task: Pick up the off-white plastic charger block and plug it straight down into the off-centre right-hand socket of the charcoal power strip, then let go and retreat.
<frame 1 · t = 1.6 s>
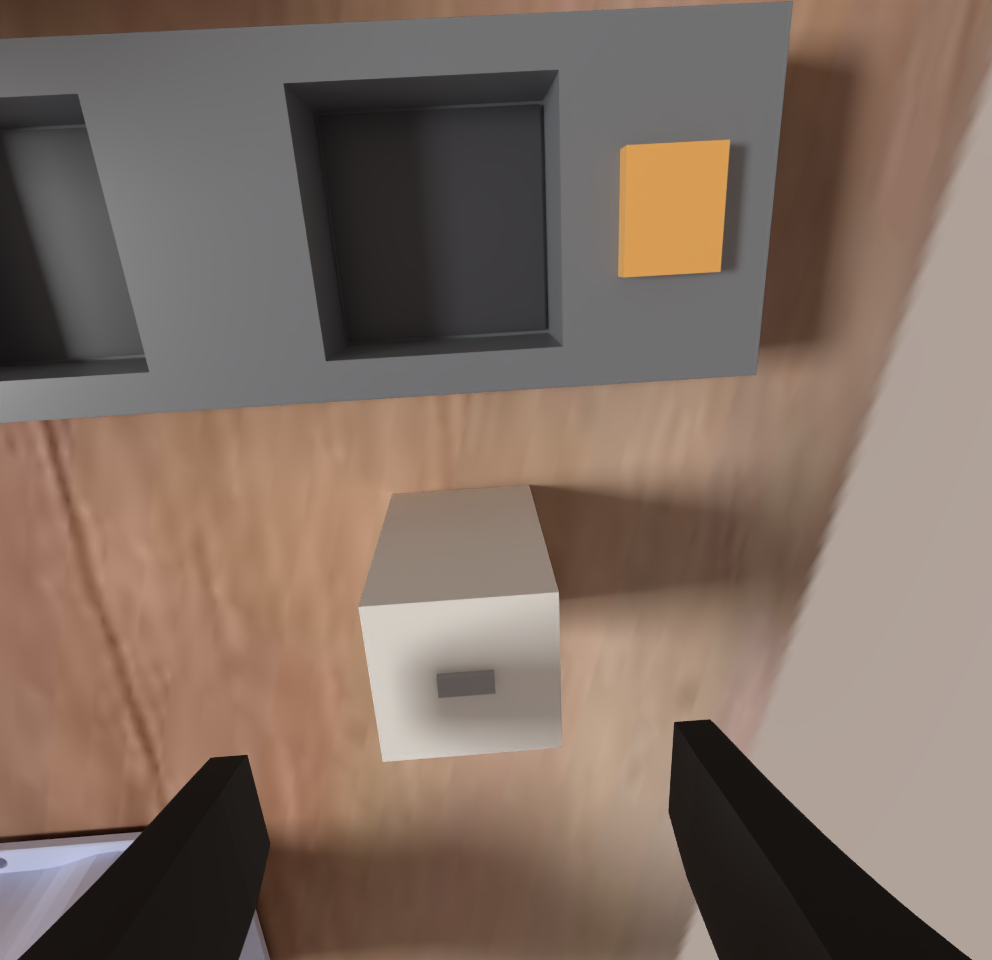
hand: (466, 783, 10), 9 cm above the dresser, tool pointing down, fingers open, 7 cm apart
charger: (465, 550, 18), on the dresser
power strip: (319, 237, 15), on the dresser
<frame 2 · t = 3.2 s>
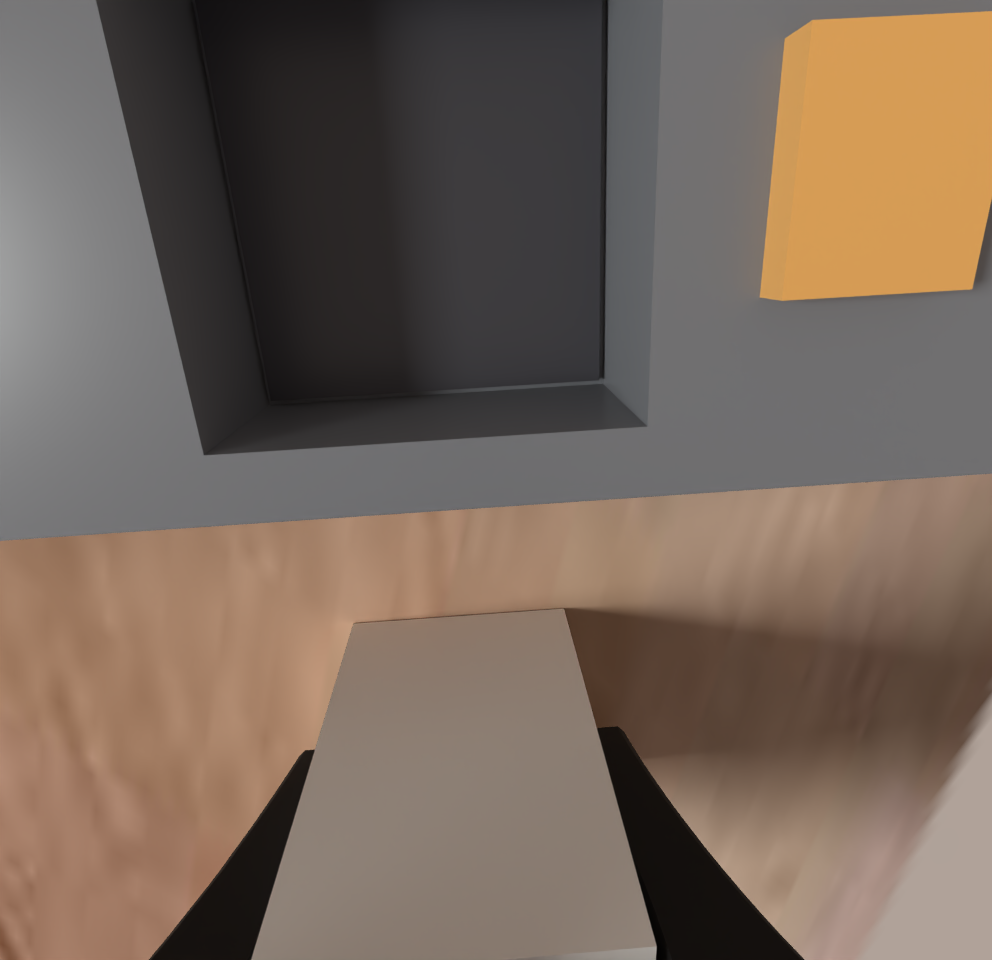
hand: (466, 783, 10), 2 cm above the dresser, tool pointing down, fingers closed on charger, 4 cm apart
charger: (466, 700, 12), on the dresser, touching gripper
power strip: (219, 225, 9), on the dresser
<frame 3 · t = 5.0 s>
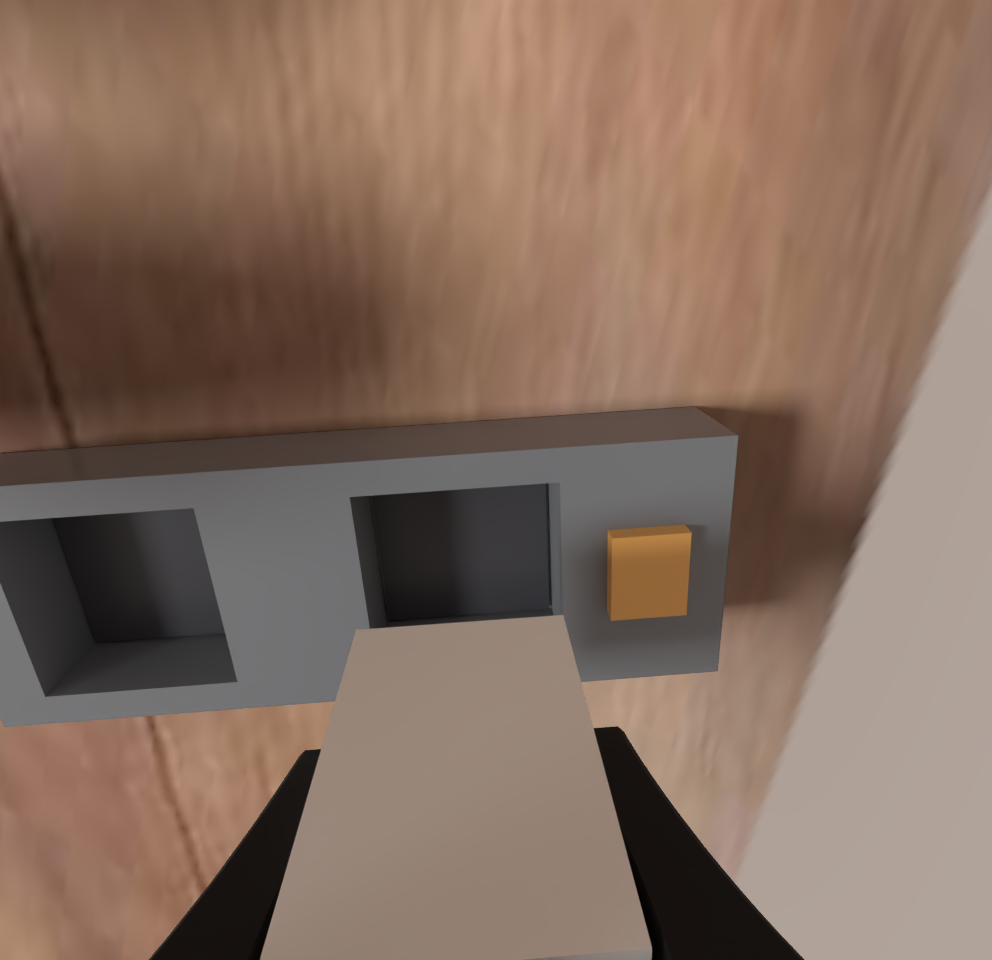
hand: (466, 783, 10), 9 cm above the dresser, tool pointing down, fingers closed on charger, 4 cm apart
charger: (467, 705, 12), point 7 cm above the dresser, touching gripper
power strip: (366, 539, 19), on the dresser
when the fingers open (4 cm above the dresser, at t = 7.2 s): charger stays where it is, resting on power strip.
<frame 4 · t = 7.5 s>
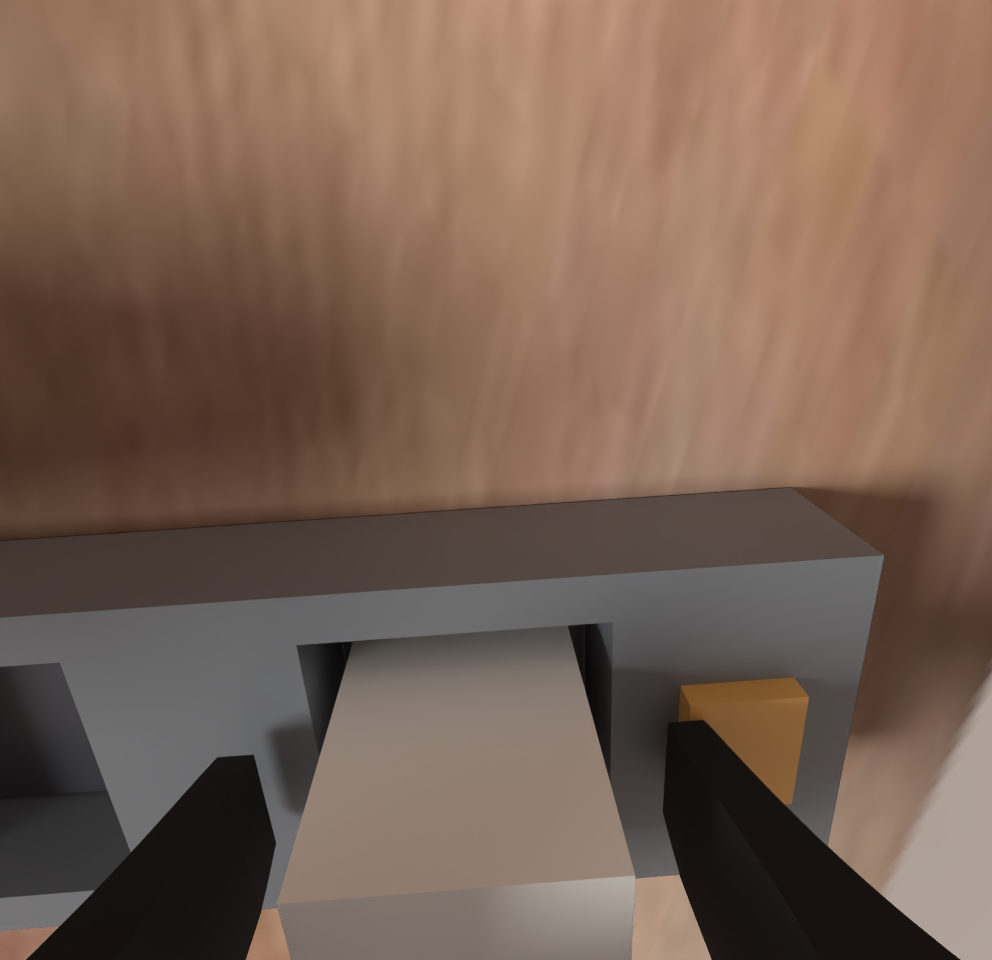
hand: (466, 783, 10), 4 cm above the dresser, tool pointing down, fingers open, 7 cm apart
charger: (467, 680, 13), point 1 cm above the dresser, touching power strip
power strip: (333, 662, 14), on the dresser
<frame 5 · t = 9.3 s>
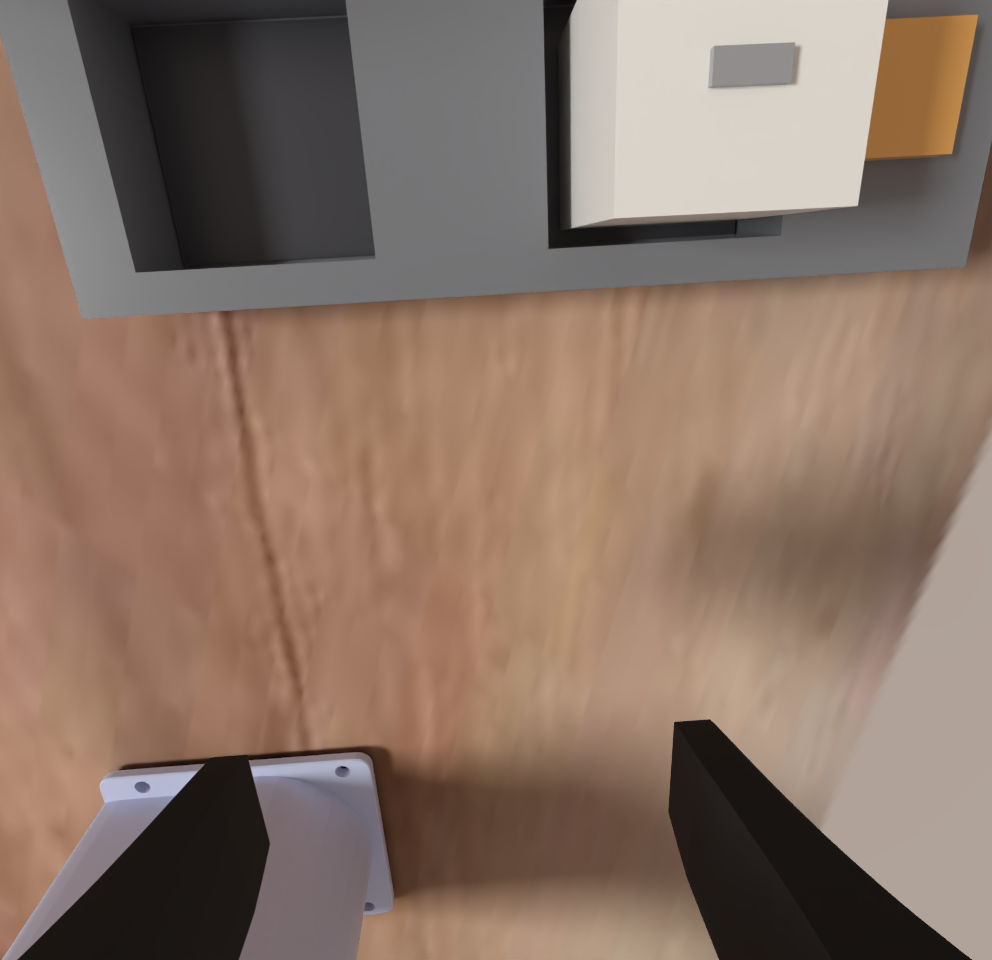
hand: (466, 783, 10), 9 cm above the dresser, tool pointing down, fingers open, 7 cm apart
charger: (640, 137, 15), point 1 cm above the dresser, touching power strip
power strip: (515, 140, 15), on the dresser
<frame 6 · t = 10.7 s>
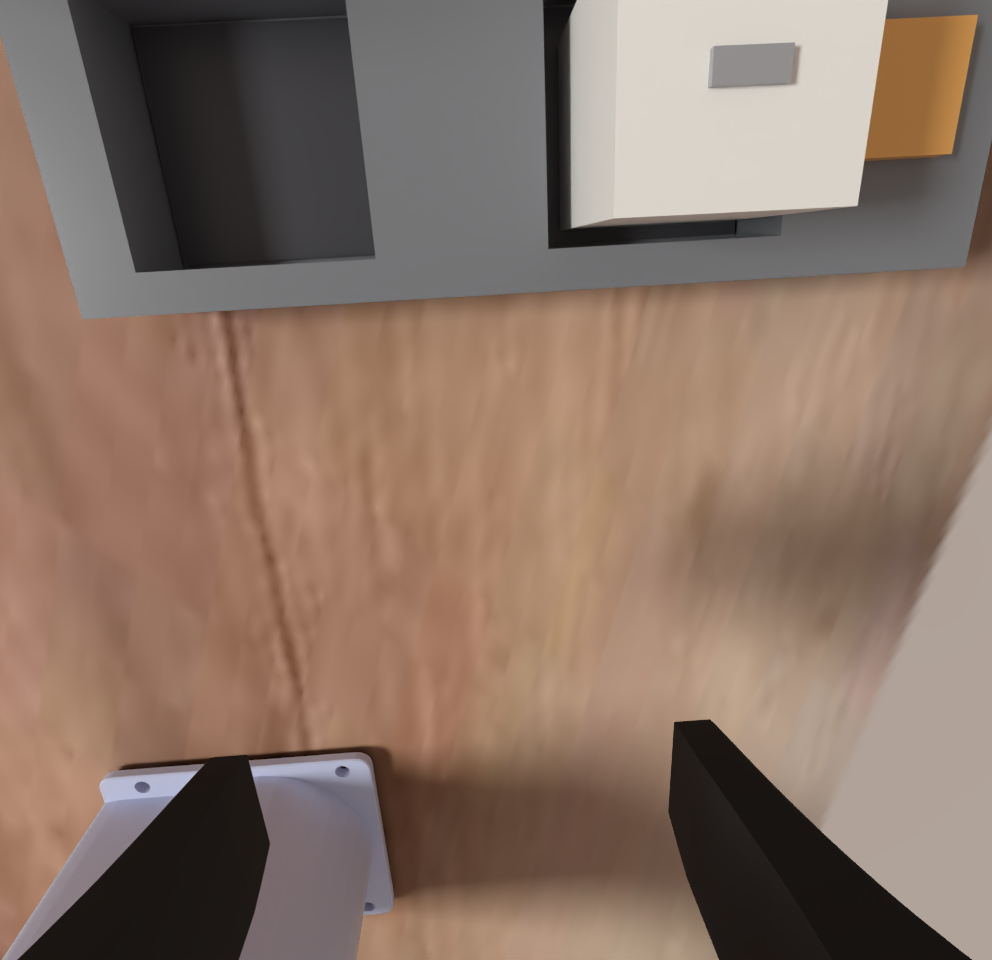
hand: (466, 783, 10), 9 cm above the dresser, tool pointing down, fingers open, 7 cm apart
charger: (640, 137, 15), point 1 cm above the dresser, touching power strip
power strip: (515, 140, 15), on the dresser
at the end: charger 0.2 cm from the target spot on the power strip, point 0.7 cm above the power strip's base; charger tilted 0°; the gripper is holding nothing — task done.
